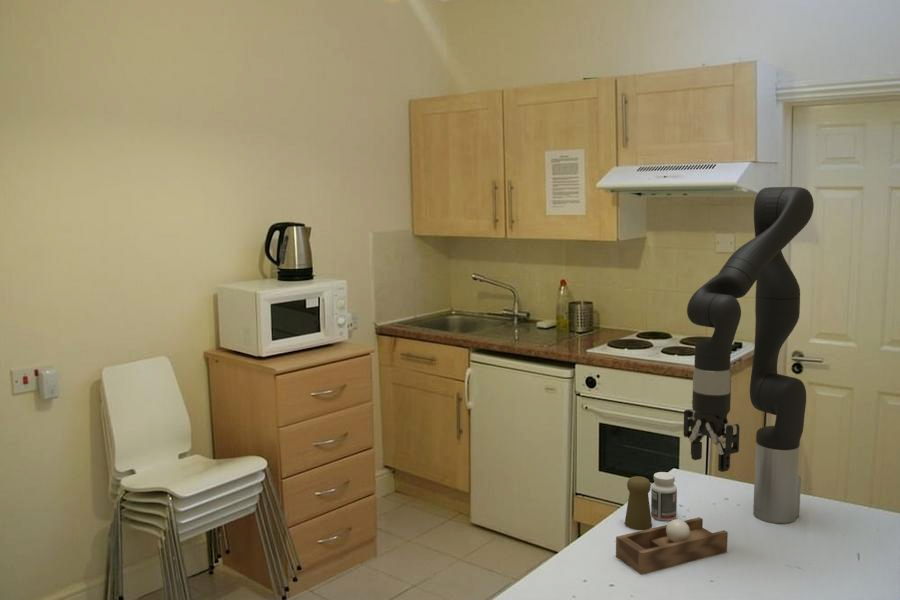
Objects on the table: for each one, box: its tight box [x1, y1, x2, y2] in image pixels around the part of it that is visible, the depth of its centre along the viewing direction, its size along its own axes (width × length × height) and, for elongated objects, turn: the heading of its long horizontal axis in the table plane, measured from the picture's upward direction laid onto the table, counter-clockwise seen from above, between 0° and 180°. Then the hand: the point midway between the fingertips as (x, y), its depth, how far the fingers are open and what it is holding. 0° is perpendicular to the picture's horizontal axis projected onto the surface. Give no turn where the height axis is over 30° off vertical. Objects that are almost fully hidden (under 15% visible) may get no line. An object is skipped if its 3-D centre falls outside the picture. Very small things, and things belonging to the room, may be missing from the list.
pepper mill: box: [624, 475, 653, 531], centre depth 178 cm, size 6×6×11 cm
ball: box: [666, 518, 690, 542], centre depth 164 cm, size 5×5×5 cm
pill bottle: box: [650, 471, 678, 522], centre depth 182 cm, size 6×6×10 cm
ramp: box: [615, 517, 729, 575], centre depth 163 cm, size 22×8×4 cm, turn 114°
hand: (709, 464), depth 165 cm, fingers open, 7 cm apart
